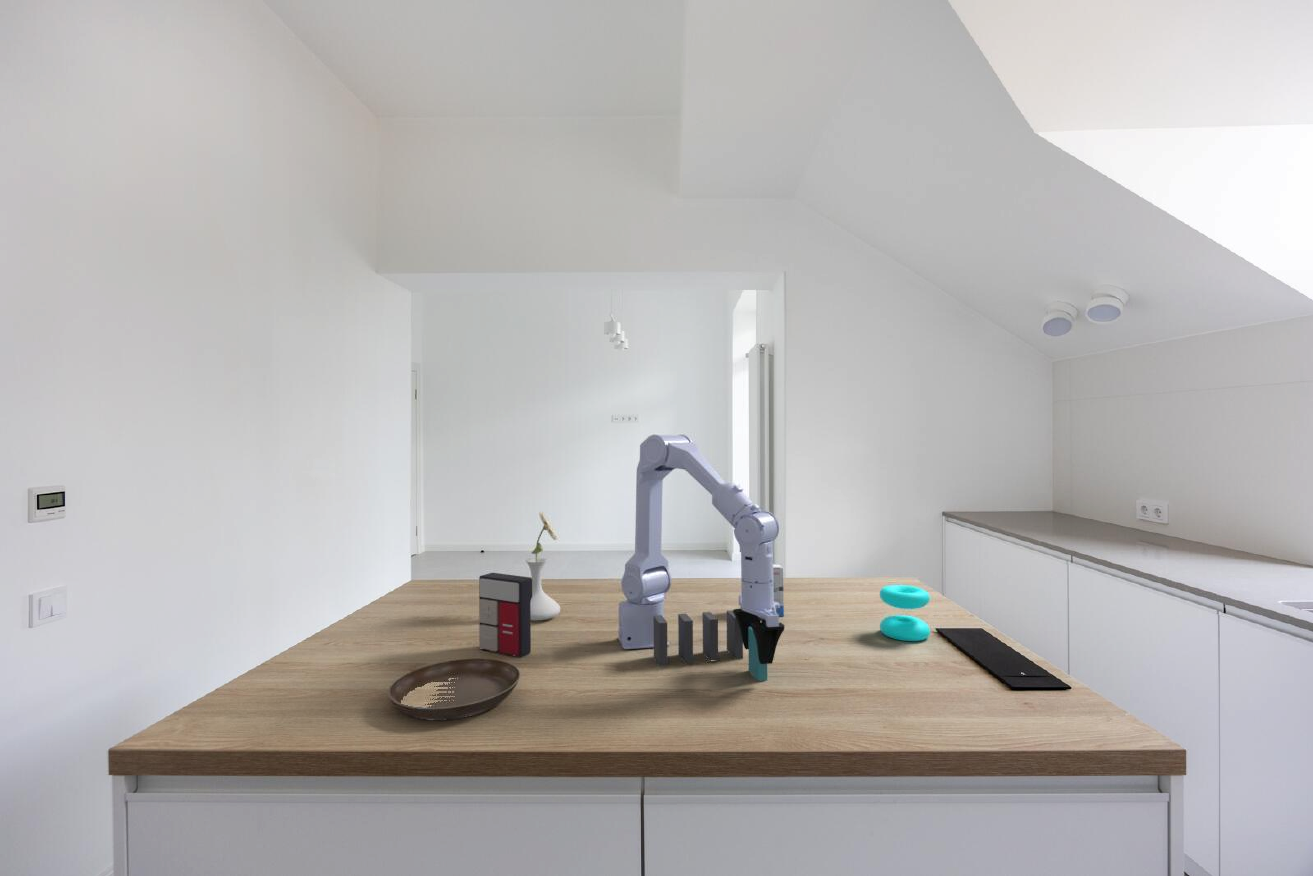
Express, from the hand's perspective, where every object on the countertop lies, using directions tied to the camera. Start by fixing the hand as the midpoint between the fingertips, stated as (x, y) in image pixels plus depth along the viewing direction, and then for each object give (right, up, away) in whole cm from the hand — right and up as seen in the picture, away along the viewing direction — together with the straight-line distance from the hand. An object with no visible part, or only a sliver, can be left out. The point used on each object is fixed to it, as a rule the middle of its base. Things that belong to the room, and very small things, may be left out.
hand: (757, 655), depth 110 cm
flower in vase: (-47, -4, +37) cm, 60 cm away
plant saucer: (-51, -4, -9) cm, 52 cm away
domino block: (-8, -4, +10) cm, 13 cm away
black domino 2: (-13, -4, +9) cm, 16 cm away
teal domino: (0, -4, 0) cm, 4 cm away
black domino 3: (-3, -4, +11) cm, 12 cm away
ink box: (+8, -4, +39) cm, 40 cm away
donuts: (+35, -4, +22) cm, 42 cm away
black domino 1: (-18, -4, +8) cm, 19 cm away
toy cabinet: (-49, -4, +13) cm, 51 cm away
